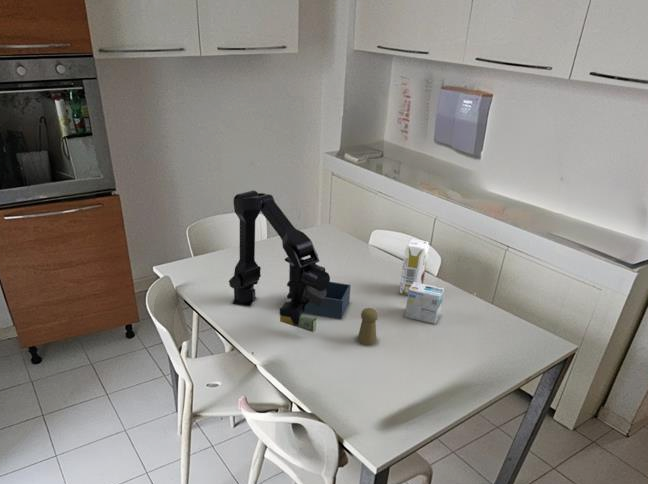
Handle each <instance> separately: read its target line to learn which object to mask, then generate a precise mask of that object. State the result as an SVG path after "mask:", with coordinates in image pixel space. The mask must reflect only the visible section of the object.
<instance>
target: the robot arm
mask: <svg viewBox="0 0 648 484" xmlns="http://www.w3.org/2000/svg"><path fill="white" fill-rule="evenodd" d="M233 209H234V213H235V215H236V216H237V218H238V219H239V260H238V261H237V263H236V265H235V267H234V272H233V276H232V277H231V278H229V280H228V284H229V287H230V288H232V289H233V297H234V300H233V301H232V304H234V305H239V306H245V307H251V305H253V303H254V302H255V301H256V299H257V297H256V288H255V285H258V283H259V280H260V277H262V276H261V269H262V268H261V266H259V265H258V263H257V262H256V261H255V259H256V258H255V257H256V256H255V255H256V254H255V253H256V220H257V219H258V217H259V215H260V213H262V215H263V216H264V218H265V219H266V220H267V221H268V223H269V224H270V226H271V227H272V228H273V230H274V231H275V232H276V234H277V235H278V236H279V237H280V239H281V242H282V243H281V245H282V249H283V250H284V253H285V254H286V256H287V257H285V258H284V261H285V262H286V263H287V264H289V266H288V267H289V269H288V272H289V273H288V277H289V279H288V281H287V283H286V287H288V293H287V295H286V299H288V300H289V299H290V301H285V302H283V303H282V305H281V306H280V307H279V310H278V311H279V312H278V313H279V315H281V316H286V317H290V318H291V320H292V322H293V324H294V325H296V326H298V322H299V318H300V316H301V314H304V313H303V312H304V310H305V305H306V304H308V303H309V302H311V303H313V304H315V305H316V306H321V304H322V302H323V300H324V298H325V296H326V294H327V293H326V292H327V291H325V288H326V287H327V286H328V284H329V282H331V277H330V274H329V272H327V271H326V267H324V266H321V265H319V264H317V263H319V262H320V258H319V254H318V253H317V251H316V248H315V246H314V244H313V243H314V242H313V241H312V240H311V239H310V237H309V236H308V235H306V233H304V232H303V231H301V230H300V229H297V228H296V227H295V226H294V225H293V224H292V222H291V221H290V220H289V219H288V217H287V215H286V214H284V212H283V211H282V209H281V208H280V207H279V205H278V204H277V203H276V201H275V198H274V196H273V195H272V194H270V193H267V194H266V193H265V192H258V191H256V190H254V189H253V190H249V191H244V192H241V193H237V194H235V195H234V196H233ZM306 257H308V258H306Z"/></svg>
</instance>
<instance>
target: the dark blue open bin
mask: <svg viewBox="0 0 648 484" xmlns="http://www.w3.org/2000/svg"><path fill="white" fill-rule="evenodd" d="M351 286H352V285H351V284H348V283H346V284H345V283H341V282H334V281H330V282H329V284H328V286H327V287H326V288H325V291H327V292H326V293H327V294H326V296H325V298H324V300H323V302H322V304H321V306H316V305H315V304H313V303H311V302H309V303H308V304H306V305H305V310H304V312H303V314H306V315H307V314H308V315H313V316H317V317H319V316H320V317H325V318H331V319H335V320H342V319H343V317H344V314H345V313H346V311H347V309H348V307H349V304H350V298H351Z"/></svg>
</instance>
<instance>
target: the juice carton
mask: <svg viewBox="0 0 648 484" xmlns="http://www.w3.org/2000/svg"><path fill="white" fill-rule="evenodd" d="M429 249H430V248H429V241H426V240H423V239H422V240H421V239H414V238H411V239H410V240H409V243H407V245H406V247H405V250H404V255H403V260H402V261H403V262H402V269H401V274H400V276H401V277H400V282H399V291H400V294H401V295H406V296H408V291H409V288H410V287H411V285H412V284H413V283H414V282H417V283H421V284H424V280H425V274H426V268H427V263H428V256H429V252H430V251H429Z"/></svg>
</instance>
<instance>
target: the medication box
mask: <svg viewBox="0 0 648 484" xmlns="http://www.w3.org/2000/svg"><path fill="white" fill-rule="evenodd" d="M279 315H280V314H279ZM317 320H318V318H317V317H314V316H311V315H309V314H308V315H307V314H306V313H303V314H301V316H300V318H299V322H298V326H296V325H294V324H293V322H292V320H291V318H290V317H286V316H281V315H280V316H279V322H280V323H283V324H287V325H289V326H293V327H295V328H298V329H301V330H305V331H306V332H307V331H308V332H310V333H314V332H315V331H316V330H317V323H318V322H317Z"/></svg>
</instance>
